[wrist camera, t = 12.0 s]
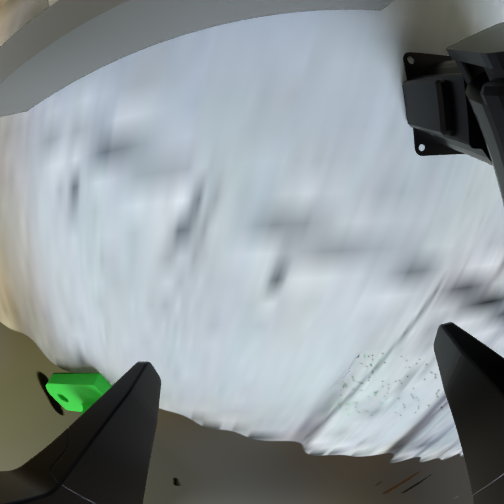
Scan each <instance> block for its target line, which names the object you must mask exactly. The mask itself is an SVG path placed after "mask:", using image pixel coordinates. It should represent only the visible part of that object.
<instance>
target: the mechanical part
mask: <svg viewBox="0 0 504 504" xmlns="http://www.w3.org/2000/svg"><path fill="white" fill-rule="evenodd" d="M111 387H112V386H111V385H110V383H109V382H108V381H107V380H106V379H105V378H104V377H103V376H102V375H101V374H100V373H78V374H75V373H72V372H69V373H53V374H52V376H51V378H50V379H49V381H48V383H47V385H46V388H47V390H48V392H49V393H50V395H51V396H52V397H53V398H54V399H55V400H56V401H57V402H59V403H60V404H61V405H62V406H63V407H64V408H65V409H66V410H71V411H78V412H82V413H81V415H82V414H83V413H84V412H85V411H86V410H87V409H88V408H89V407H90V406H92V405H93V404H94V403H95V402H96V401H97V400H98V399H99V398H100V397H101V396H102V395H103V394H104V393H105V392H106V391H107V390H108V389H110V388H111ZM81 415H80V416H81Z"/></svg>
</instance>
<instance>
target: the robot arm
mask: <svg viewBox="0 0 504 504" xmlns="http://www.w3.org/2000/svg"><path fill="white" fill-rule="evenodd" d="M446 50H447V51H448V53H449V55H450V56H443V55H434V54H424V53H411V52H409V53H406V54H405V55H404V57H403V60H404V65H405V71H406V76H407V81H405V82H404V84H403V89H404V96H405V104H406V112H407V121H408V124H409V125H410V126H411V127H413V131H414V144H415V151H416V153H417V154H418V155H420V156H428V155H448V154H467V155H470V156H472V157H474V158H477V159H479V160H481V161H484V162H486V163H488V164H491V165H493V167H494V170H495V174H496V177H497V181H498V184H499V188H500V192H501V196H502V201H503V205H504V22H502V23H499V24H496V25H494V26H491V27H489V28H487V29H485V30H483V31H481V32H478V33H476V34H474V35H472V36H470V37H468V38H466V39H464V40H462V41H460V42H458V43H456V44H454V45H452V46H450V47H448V48H446ZM409 56H411V57H413V58H414V63H413V64H410V63H409V62H408V60H407V58H408V57H409ZM420 144H423V145H424V146H425V150H424V151H423V152H420V151H419V145H420ZM434 352H435V355H436V359H437V363H438V367H439V371H440V375H441V379H442V383H443V387H444V391H445V394H446V397H447V400H448V403H449V406H450V409H451V412H452V415H453V419H454V422H455V425H456V429H457V432H458V435H459V439H460V443H461V446H462V450H463V454H464V458H465V462H466V466H467V471H468V475H469V480H470V485H471V490H472V495H473V502H474V504H504V358H503V357H502V356H500V355H499V354H497V353H496V352H494V351H493V350H492V349H490V348H489V347H487V346H486V345H485V344H483V343H482V342H480V341H479V340H477V339H476V338H474V337H473V336H471V335H470V334H469V333H467V332H466V331H464V330H463V329H461V328H460V327H458V326H457V325H455V324H454V323H452V322H448V323H445V324H441V325H440V326H439V327H438V331H437V334H436V338H435V341H434ZM160 389H161V379H160V377H159V375H158V373H157V372H156V370H155V369H154V367H153V366H152V364H151V363H150V362H137V363H136V364H135V365H134V366H133V367H132V368H131V369H130V370H129V371H128V372H126V373H125V374H124V375H123V376H122V377H121V378H120V379H119V380H118V381H117V382H116V383H115V384H114V385H113V386H112V387H111V388H110V389H108V390H107V391H106V392H105V393H104V394H103V395H102V396H101V397H100V398H99V399H98V400H97V401H96V402H95V403H94V404H93V405H92V406H90V407H89V408H88V409H87V410H86V411H85V412H84V413H83V414H82V415H81V416H80V417H79V418H78V419H77V420H76V421H75V422H74V423H72V424H71V425H70V426H69V428H67V429H66V430H65V431H64V432H63V433H62V434H61V435H60V436H58V437H57V438H56V439H55V440H54V441H53V442H52V443H51V444H49V445H48V446H47V447H46V448H45V449H43V450H42V451H41V452H39V453H38V454H37V455H36V456H34V457H33V458H31V459H30V460H29V461H28V462H26V463H25V464H24V465H22V466H21V467H19V468H17V469H14V470H11V471H1V472H0V504H143V499H144V492H145V486H146V480H147V474H148V469H149V463H150V458H151V452H152V446H153V442H154V437H155V432H156V426H157V420H158V410H159V399H160Z"/></svg>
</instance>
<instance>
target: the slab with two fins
mask: <svg viewBox="0 0 504 504" xmlns="http://www.w3.org/2000/svg"><path fill="white" fill-rule="evenodd" d="M393 1H394V0H49V7H48V8H47V9H45V10H44V11H43V12H41V13H40V14H39V15H37V16H36V17H35V18H33V19H32V20H31V21H30V22H28V23H27V24H26V25H25V26H23V27H22V28H21V29H20V30H19V31H17V32H16V33H15V34H14V35H13V36H12V37H10V38H9V39H8V40H7V41H6V42H5V43H4V44H3V45H2V46H1V47H0V117H3V116H8V115H12V114H16V113H21V112H26V111H28V110H29V109H31V108H32V107H34V106H35V105H37V104H38V103H40V102H41V101H43V100H44V99H46V98H47V97H49V96H51V95H52V94H54V93H55V92H57V91H59V90H60V89H62V88H64V87H65V86H67V85H69V84H71V83H72V82H74V81H76V80H78V79H80V78H82V77H83V76H85V75H87V74H89V73H91V72H93V71H95V70H97V69H99V68H101V67H103V66H105V65H107V64H109V63H112V62H114V61H116V60H118V59H120V58H123V57H125V56H127V55H130V54H132V53H134V52H137V51H139V50H142V49H144V48H147V47H150V46H152V45H155V44H158V43H160V42H163V41H166V40H169V39H172V38H175V37H178V36H181V35H185V34H188V33H191V32H195V31H198V30H202V29H206V28H209V27H213V26H217V25H221V24H226V23H230V22H235V21H240V20H245V19H250V18H256V17H262V16H268V15H275V14H283V13H292V12H302V11H315V10H338V9H361V10H382V9H383V8H385V7H386V6H387V5H389V4H390V3H392V2H393Z"/></svg>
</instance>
